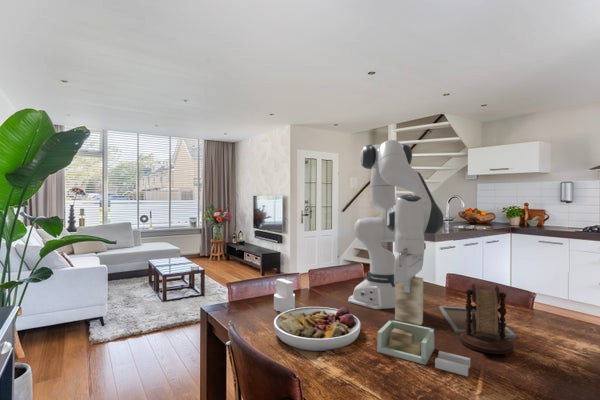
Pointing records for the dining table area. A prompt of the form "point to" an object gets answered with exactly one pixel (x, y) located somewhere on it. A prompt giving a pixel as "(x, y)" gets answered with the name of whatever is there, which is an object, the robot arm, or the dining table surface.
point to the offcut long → (406, 347)
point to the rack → (420, 335)
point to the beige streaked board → (409, 302)
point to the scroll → (486, 322)
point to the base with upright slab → (284, 296)
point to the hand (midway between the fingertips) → (408, 290)
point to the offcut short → (402, 336)
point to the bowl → (317, 328)
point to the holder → (452, 363)
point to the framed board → (458, 317)
